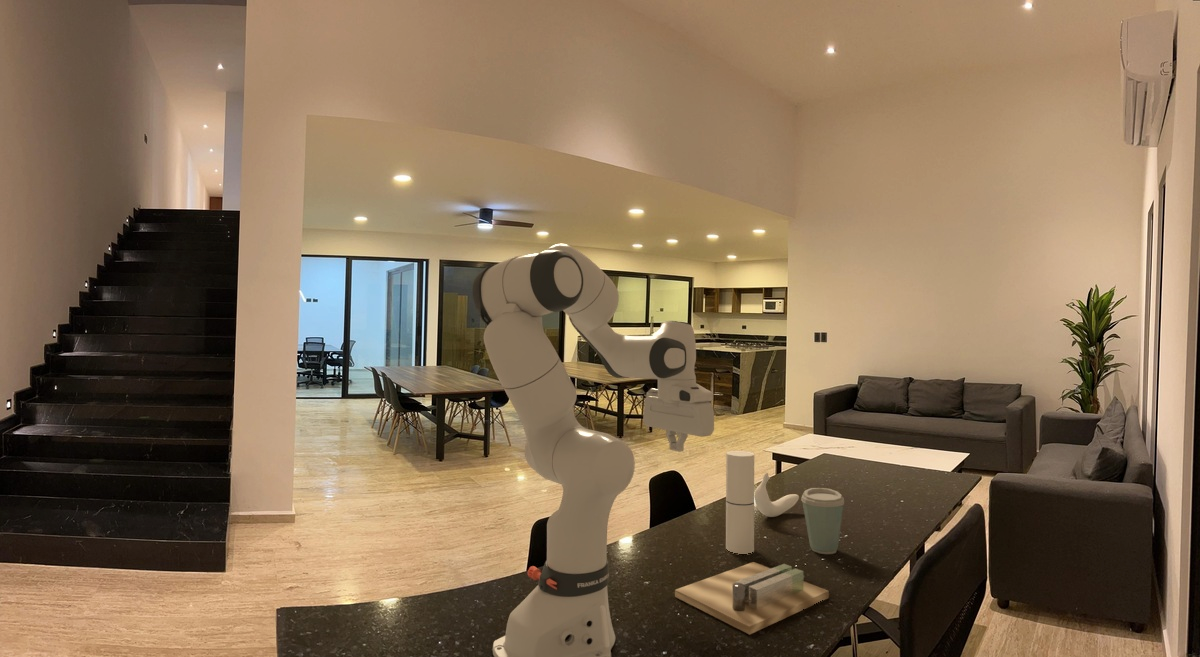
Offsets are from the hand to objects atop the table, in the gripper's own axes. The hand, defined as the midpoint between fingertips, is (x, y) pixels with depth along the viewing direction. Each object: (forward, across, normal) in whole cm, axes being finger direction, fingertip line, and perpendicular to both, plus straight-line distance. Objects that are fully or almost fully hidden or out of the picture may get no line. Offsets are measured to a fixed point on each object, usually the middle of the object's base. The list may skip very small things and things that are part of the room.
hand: (676, 450), depth 141 cm
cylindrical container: (+29, -2, +25) cm, 38 cm away
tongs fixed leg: (+27, +23, +6) cm, 37 cm away
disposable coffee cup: (+29, +11, +42) cm, 52 cm away
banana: (+29, -14, +56) cm, 65 cm away
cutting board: (+29, +18, +5) cm, 34 cm away
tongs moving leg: (+27, +21, +4) cm, 35 cm away
